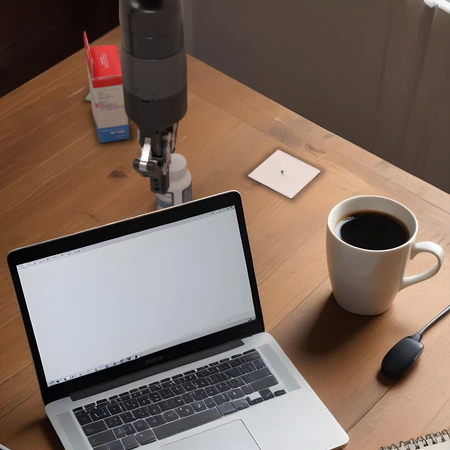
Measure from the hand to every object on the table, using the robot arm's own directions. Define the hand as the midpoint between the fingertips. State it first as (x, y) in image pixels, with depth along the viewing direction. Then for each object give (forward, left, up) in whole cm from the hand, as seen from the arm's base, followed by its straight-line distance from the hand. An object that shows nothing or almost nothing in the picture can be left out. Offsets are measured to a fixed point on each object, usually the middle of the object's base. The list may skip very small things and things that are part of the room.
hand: (160, 190), depth 110 cm
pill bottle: (0, +6, -9) cm, 11 cm away
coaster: (+14, +18, -9) cm, 25 cm away
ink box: (-15, +22, -9) cm, 29 cm away
